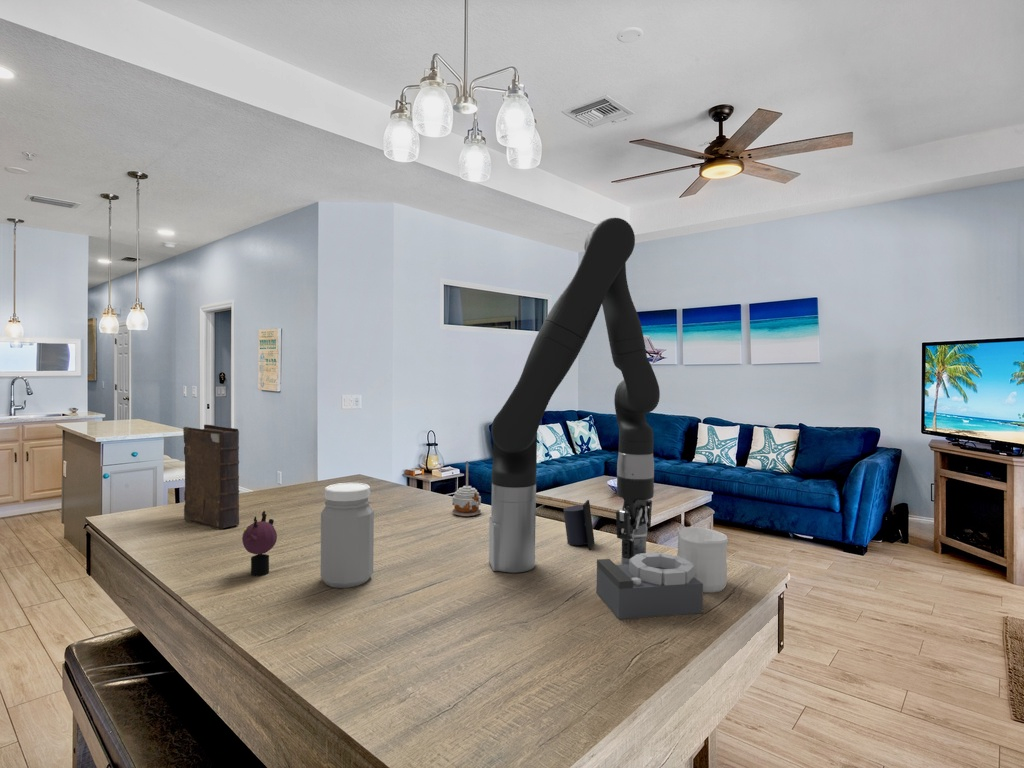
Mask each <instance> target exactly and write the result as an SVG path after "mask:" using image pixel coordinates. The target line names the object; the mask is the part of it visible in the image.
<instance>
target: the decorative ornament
mask: <svg viewBox="0 0 1024 768" xmlns="http://www.w3.org/2000/svg"><path fill="white" fill-rule="evenodd" d="M481 502H482V497H481V495H480V493H479V492H478V489H476V488H475V487H472V485H469V460H466V462H465V485H463V486H462V487H459V488H458V489H457V490H456V491H454V495H453V496H452V506H453V507H454V508H452V514H454V515H457V516H461V517H473V516H476V515H479V514H481V512H482V509H480V506H481V504H482V503H481Z"/></svg>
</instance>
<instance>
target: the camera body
mask: <svg viewBox="0 0 1024 768" xmlns="http://www.w3.org/2000/svg"><path fill="white" fill-rule="evenodd" d="M595 593H596V594H597V595H598V597H599V598H600V599H601V600H602V602H603V603H604V604H605V605H606V606H607V607H608V609H609V610H610V611H611V612H612V613H613V614H614V616H616V618H617V619H618V620H622V619H637V618H639V619H640V618H653V617H665V616H668V617H669V616H679V615H693V614H703V601H704V600H703V599H704V597H703V596H704V595H703V594H704V592H703V583H701V582H700V581H698V580H697V579H696V578H694V564H692V563H691V562H689V561H688V560H686V559H685V558H681V557H680V556H677V555H673V554H669V553H663V552H661V553H659V552H646V553H640V554H636V555H635V556H634V557H632V558H631V559H629V564H625V565H621V564H616V563H614V561H613V560H611V559H610V558H599V559H598V558H597V560H596V592H595Z"/></svg>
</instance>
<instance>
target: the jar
mask: <svg viewBox="0 0 1024 768" xmlns="http://www.w3.org/2000/svg"><path fill="white" fill-rule="evenodd" d="M369 497H371V486H370V485H369V484H367V483H363V482H362V483H361V482H340V483H334V484H330V485H328V486H326V487H324V498H325V499H326V501H325V502H324V505H325V507H324V508H323V509H322V511H321V512H320V578H321V580H322V582H323V583H324V584H325V585H327V586H329V587H332V588H336V589H337V588H341V589H345V588H353V587H358V586H361V585H363V584H365V583H367V581H368V580H370V578H371V576H372V575H373V574H374V539H375V538H374V536H375V535H374V534H375V533H374V531H375V530H374V527H375V526H374V524H375V523H374V522H375V521H374V519H375V514H374V513H375V512H374V511H375V510H374V509H373V507H372V506H371V505H370V503H371V500H370V499H369Z"/></svg>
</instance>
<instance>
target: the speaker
mask: <svg viewBox="0 0 1024 768" xmlns="http://www.w3.org/2000/svg"><path fill="white" fill-rule="evenodd" d="M563 517H564V525H565V534H566V540H567V541H566V542H567V544H568V545H571V546H582V545H586V544H587V547H588V550H589V551H591V550H592V548H593V547H594V545H595V544H596V543H595V536H594V528H593V519H592V513H591V503H590V499H587V500H585V502H584V503H583V504H581V505H572V506H567V507H565V508H564V509H563Z"/></svg>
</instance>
